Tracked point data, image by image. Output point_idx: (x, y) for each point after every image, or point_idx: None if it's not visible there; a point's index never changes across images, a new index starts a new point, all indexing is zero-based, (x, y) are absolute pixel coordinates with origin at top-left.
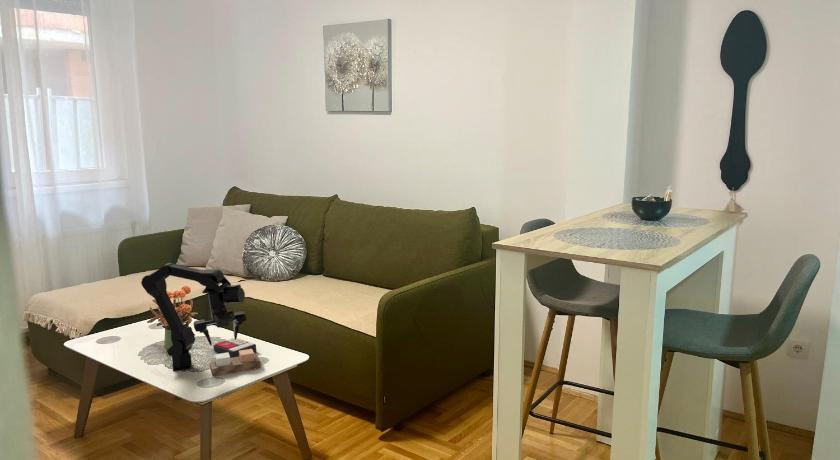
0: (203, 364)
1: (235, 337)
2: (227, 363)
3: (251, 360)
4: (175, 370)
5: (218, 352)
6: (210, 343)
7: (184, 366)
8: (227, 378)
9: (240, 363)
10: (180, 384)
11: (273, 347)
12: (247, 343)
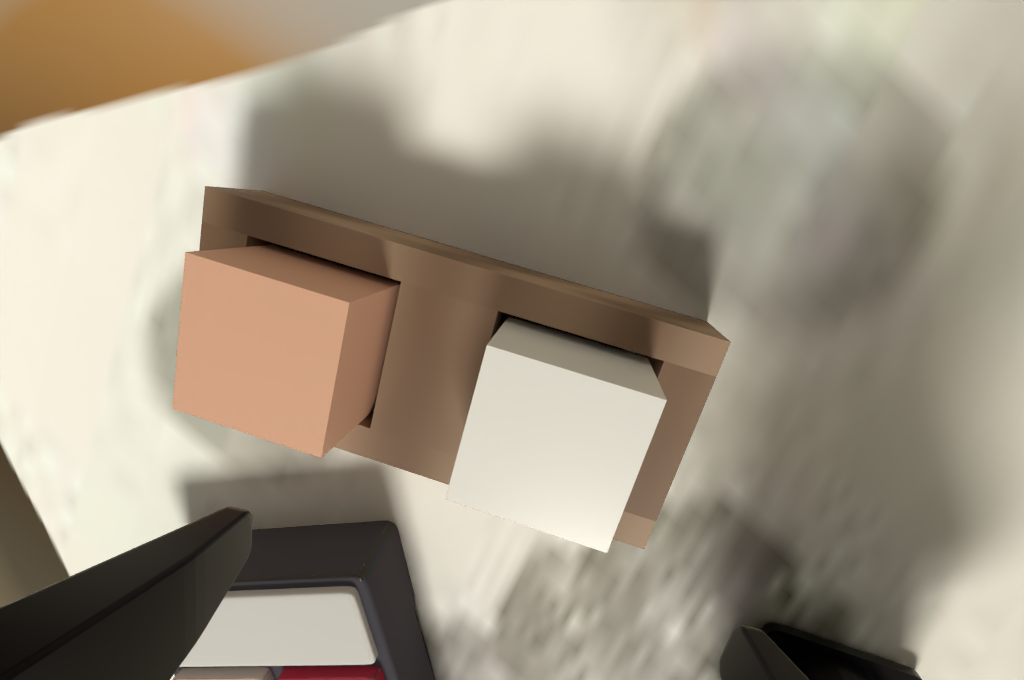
0: (636, 617)
1: (202, 535)
2: (533, 336)
3: (281, 256)
4: (902, 665)
5: None
6: (784, 670)
7: (824, 665)
8: (614, 170)
9: (406, 269)
10: None
11: (59, 527)
12: (191, 653)
